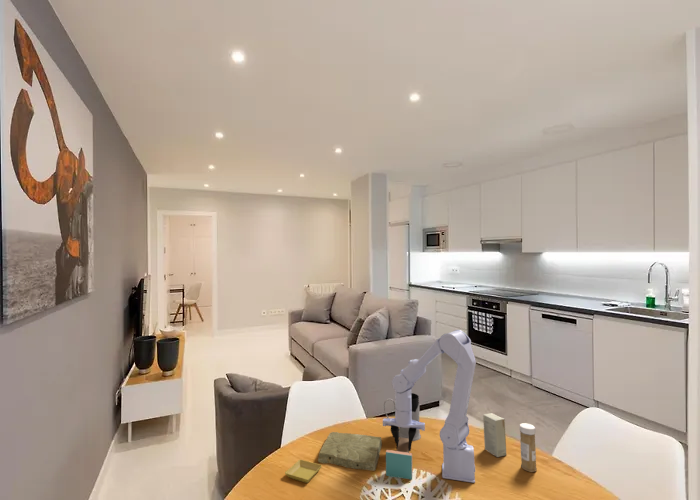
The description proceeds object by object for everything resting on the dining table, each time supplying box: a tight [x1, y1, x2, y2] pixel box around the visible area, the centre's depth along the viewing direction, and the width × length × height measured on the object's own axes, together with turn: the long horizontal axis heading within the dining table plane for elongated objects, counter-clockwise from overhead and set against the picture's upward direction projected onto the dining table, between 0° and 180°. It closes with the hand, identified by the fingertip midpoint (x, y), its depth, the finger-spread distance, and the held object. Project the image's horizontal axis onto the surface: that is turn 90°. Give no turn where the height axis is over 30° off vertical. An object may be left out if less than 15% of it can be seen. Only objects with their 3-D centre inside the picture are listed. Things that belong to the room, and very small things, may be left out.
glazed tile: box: [385, 449, 413, 481], centre depth 106 cm, size 8×2×7 cm, turn 75°
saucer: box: [284, 459, 323, 484], centre depth 107 cm, size 9×9×2 cm
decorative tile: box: [317, 431, 383, 472], centre depth 120 cm, size 19×20×4 cm
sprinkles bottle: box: [519, 422, 538, 473], centre depth 111 cm, size 5×5×13 cm
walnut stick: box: [396, 437, 410, 453], centre depth 117 cm, size 4×12×4 cm, turn 165°
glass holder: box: [383, 392, 422, 442], centre depth 133 cm, size 9×14×15 cm, turn 88°
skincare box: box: [482, 412, 507, 458], centre depth 121 cm, size 6×4×12 cm
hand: (403, 448), depth 119 cm, fingers closed on walnut stick, 3 cm apart
